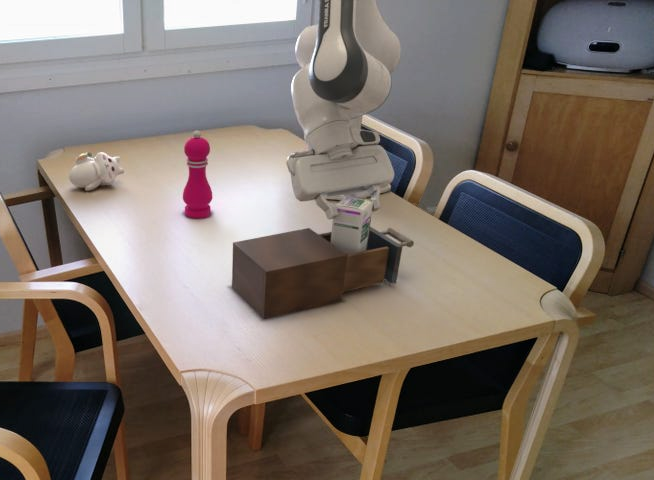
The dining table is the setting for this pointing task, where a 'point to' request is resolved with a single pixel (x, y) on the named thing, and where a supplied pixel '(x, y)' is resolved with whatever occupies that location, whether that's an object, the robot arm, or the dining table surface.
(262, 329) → the dining table surface
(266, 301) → the cabinet
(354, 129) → the robot arm
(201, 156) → the pepper mill
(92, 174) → the cat figurine
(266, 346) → the dining table surface
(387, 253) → the drawer
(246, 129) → the dining table surface
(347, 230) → the syrup box
